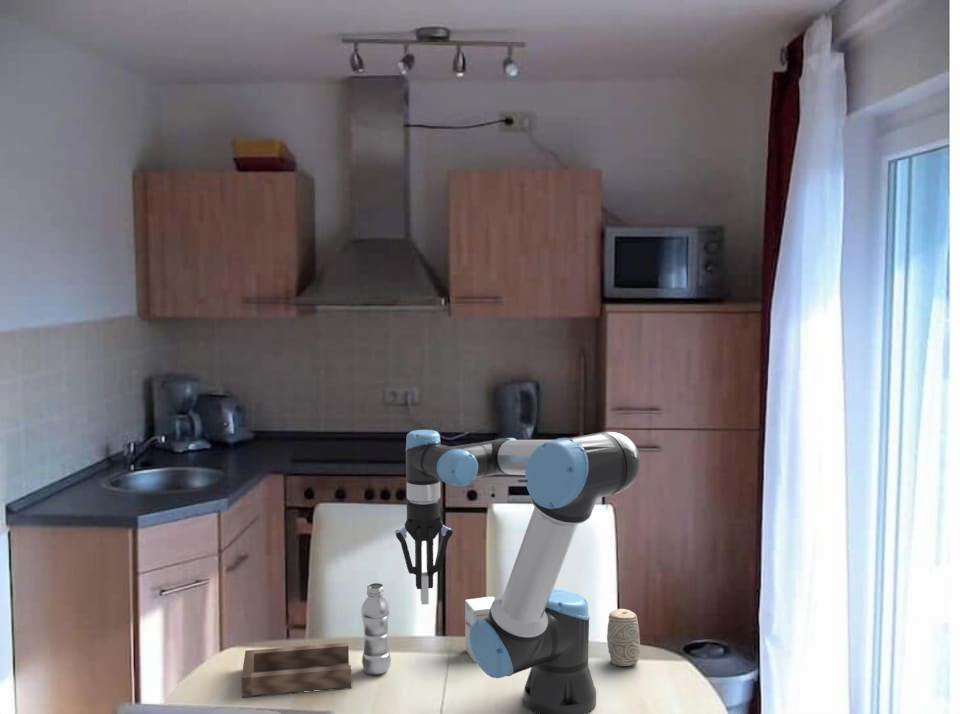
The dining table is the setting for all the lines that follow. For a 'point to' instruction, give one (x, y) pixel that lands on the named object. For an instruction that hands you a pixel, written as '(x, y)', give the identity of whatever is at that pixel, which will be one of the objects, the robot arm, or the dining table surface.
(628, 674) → the dining table surface
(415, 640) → the dining table surface
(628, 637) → the carving
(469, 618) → the supplement box
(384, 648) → the plastic bottle
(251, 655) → the wooden tray
